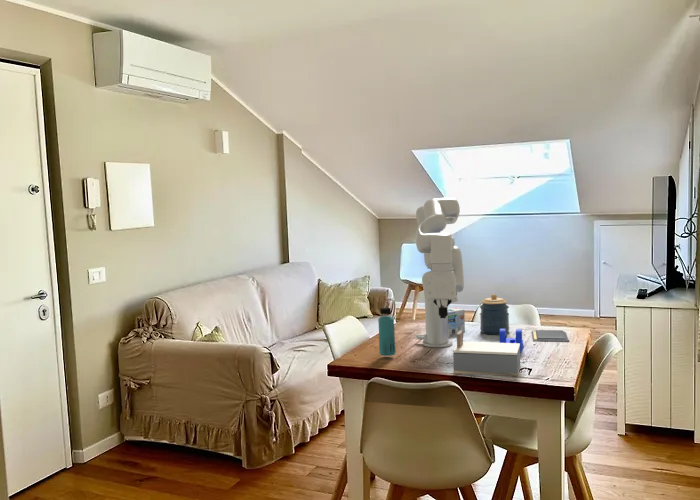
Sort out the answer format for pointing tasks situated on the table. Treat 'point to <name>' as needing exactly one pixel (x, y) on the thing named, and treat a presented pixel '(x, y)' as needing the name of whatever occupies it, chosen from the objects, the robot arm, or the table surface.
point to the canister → (494, 315)
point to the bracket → (511, 340)
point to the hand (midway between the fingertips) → (443, 317)
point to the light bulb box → (456, 320)
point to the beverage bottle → (386, 333)
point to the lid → (485, 347)
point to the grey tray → (486, 363)
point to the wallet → (549, 336)
